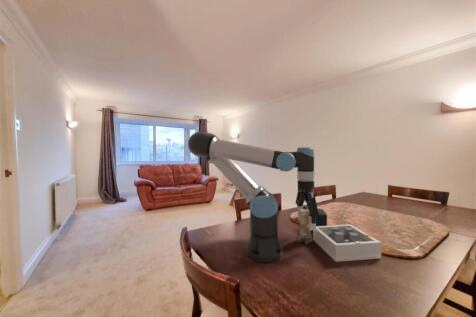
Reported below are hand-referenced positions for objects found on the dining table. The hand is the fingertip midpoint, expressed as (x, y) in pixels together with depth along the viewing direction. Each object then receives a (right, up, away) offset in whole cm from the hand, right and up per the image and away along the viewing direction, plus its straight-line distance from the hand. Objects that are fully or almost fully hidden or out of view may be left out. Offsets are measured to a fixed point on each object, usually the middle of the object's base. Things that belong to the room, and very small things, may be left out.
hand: (306, 224), depth 95 cm
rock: (+13, -7, +31) cm, 34 cm away
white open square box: (+14, -8, -7) cm, 18 cm away
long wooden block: (0, -8, +1) cm, 8 cm away
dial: (+15, -6, -7) cm, 18 cm away
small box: (+11, -8, +12) cm, 18 cm away
